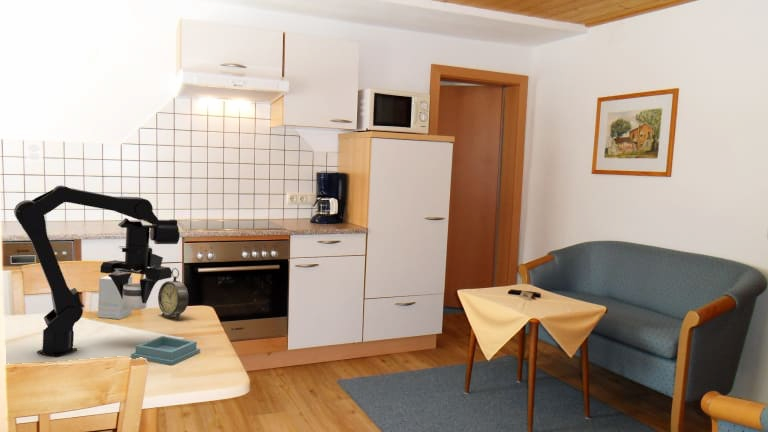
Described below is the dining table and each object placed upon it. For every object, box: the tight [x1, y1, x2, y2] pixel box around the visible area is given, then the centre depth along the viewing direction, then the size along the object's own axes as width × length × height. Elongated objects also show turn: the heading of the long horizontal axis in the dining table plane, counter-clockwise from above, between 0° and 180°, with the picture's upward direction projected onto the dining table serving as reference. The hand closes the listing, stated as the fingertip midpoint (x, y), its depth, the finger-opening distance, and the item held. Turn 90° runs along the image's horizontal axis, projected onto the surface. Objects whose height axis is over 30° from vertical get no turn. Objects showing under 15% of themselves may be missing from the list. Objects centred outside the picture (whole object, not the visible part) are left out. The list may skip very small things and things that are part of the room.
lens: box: [122, 282, 148, 311], centre depth 156 cm, size 6×6×6 cm
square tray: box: [130, 335, 201, 366], centre depth 151 cm, size 12×12×3 cm
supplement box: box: [97, 275, 133, 320], centre depth 185 cm, size 7×7×13 cm
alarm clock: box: [157, 267, 190, 321], centre depth 188 cm, size 11×5×16 cm, turn 54°
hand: (134, 301), depth 156 cm, fingers closed on lens, 6 cm apart
